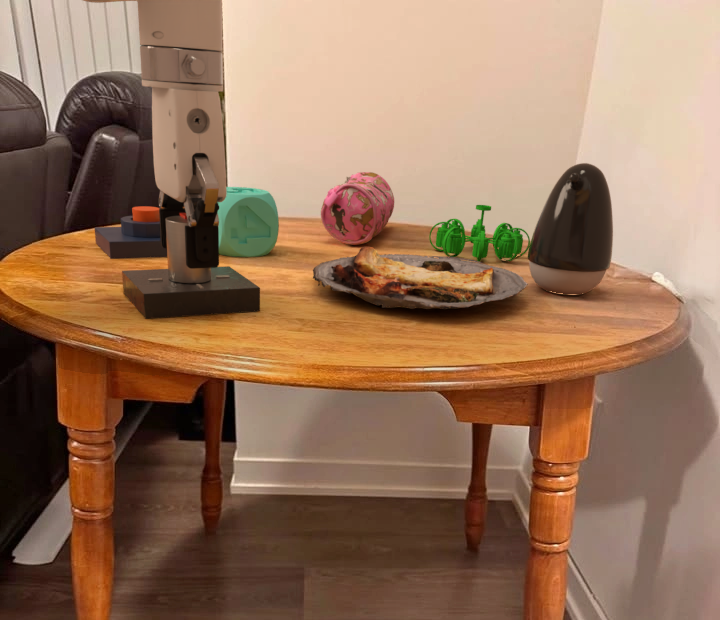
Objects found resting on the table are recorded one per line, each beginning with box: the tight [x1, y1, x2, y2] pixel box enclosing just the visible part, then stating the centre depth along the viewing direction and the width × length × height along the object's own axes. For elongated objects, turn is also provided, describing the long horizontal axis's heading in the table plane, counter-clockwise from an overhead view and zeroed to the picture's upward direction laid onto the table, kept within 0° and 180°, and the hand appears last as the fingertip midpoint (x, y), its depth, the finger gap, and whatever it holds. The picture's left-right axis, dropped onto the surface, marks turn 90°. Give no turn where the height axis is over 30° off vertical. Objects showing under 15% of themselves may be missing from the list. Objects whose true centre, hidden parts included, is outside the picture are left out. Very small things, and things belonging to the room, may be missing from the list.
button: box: [131, 205, 161, 222], centre depth 103 cm, size 4×4×2 cm
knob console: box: [121, 266, 261, 320], centre depth 82 cm, size 12×10×3 cm
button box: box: [94, 215, 167, 260], centre depth 104 cm, size 12×10×4 cm
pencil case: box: [320, 171, 395, 246], centre depth 123 cm, size 21×9×9 cm, turn 172°
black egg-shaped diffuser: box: [526, 162, 614, 295], centre depth 96 cm, size 10×10×15 cm
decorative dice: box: [217, 186, 280, 258], centre depth 106 cm, size 8×8×8 cm
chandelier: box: [428, 204, 531, 263], centre depth 116 cm, size 15×15×7 cm
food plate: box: [312, 246, 529, 310], centre depth 92 cm, size 25×23×4 cm
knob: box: [166, 213, 211, 283], centre depth 80 cm, size 4×4×6 cm
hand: (188, 256), depth 81 cm, fingers open, 9 cm apart
